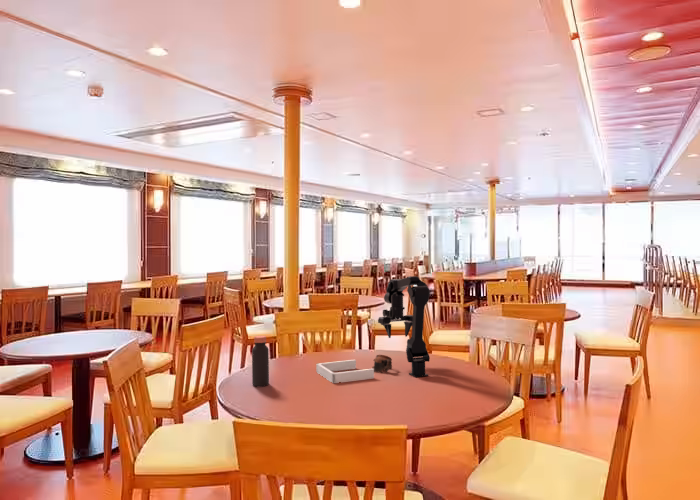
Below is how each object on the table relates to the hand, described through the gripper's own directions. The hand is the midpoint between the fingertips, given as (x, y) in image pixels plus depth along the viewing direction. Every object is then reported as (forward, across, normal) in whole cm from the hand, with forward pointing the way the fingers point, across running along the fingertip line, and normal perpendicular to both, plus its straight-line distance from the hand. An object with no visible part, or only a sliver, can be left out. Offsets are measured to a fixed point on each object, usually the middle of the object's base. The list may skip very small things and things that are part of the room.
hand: (397, 337), depth 242 cm
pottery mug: (+14, +12, +8) cm, 20 cm away
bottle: (+14, +69, +6) cm, 71 cm away
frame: (+13, +32, +8) cm, 35 cm away
